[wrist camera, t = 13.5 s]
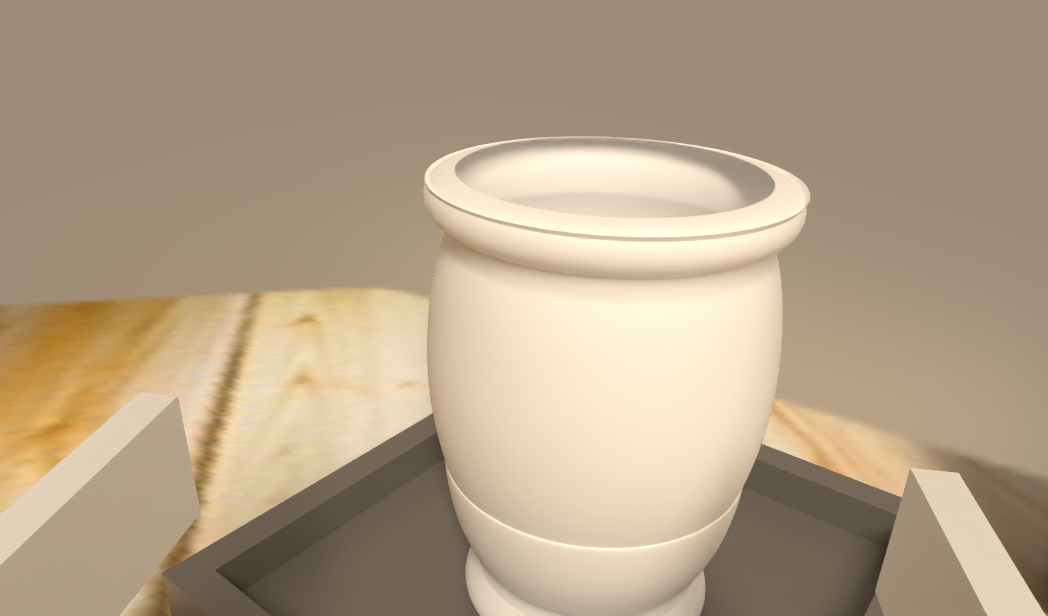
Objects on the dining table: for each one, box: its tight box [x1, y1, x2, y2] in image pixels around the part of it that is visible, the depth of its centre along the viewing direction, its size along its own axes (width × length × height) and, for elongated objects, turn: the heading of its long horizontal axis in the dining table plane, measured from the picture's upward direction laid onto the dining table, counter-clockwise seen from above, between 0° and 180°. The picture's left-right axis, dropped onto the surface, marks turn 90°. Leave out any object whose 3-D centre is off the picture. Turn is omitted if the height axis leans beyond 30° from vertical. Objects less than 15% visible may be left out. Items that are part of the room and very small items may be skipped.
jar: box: [423, 137, 810, 616], centre depth 24 cm, size 11×10×15 cm
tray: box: [162, 414, 902, 616], centre depth 28 cm, size 20×20×3 cm
